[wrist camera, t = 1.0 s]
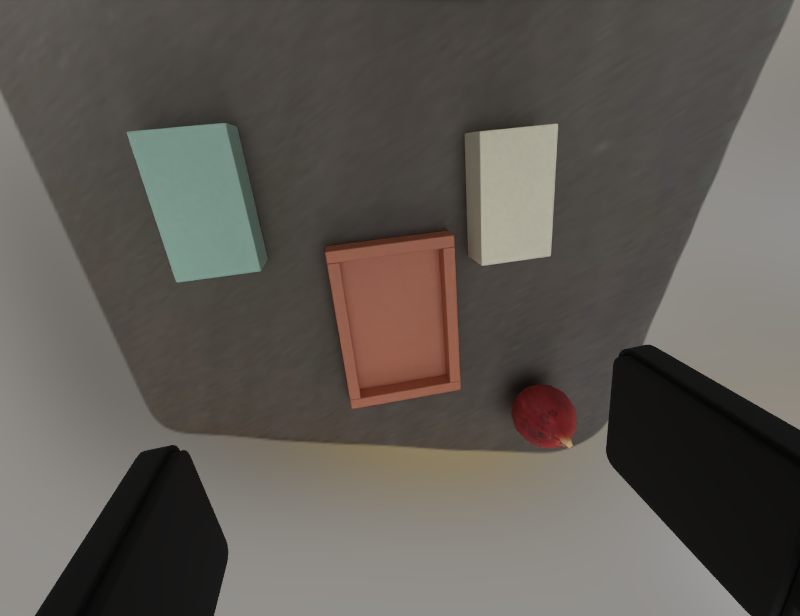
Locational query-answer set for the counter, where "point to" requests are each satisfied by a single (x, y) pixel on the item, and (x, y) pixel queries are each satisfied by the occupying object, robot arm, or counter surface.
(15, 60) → the counter surface
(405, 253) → the holder
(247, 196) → the pad base
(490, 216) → the pad top
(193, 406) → the counter surface
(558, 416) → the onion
